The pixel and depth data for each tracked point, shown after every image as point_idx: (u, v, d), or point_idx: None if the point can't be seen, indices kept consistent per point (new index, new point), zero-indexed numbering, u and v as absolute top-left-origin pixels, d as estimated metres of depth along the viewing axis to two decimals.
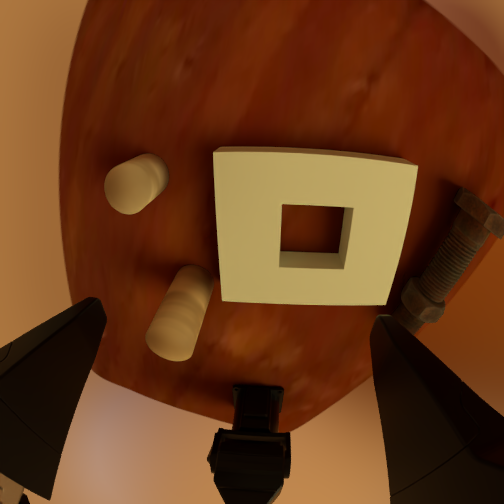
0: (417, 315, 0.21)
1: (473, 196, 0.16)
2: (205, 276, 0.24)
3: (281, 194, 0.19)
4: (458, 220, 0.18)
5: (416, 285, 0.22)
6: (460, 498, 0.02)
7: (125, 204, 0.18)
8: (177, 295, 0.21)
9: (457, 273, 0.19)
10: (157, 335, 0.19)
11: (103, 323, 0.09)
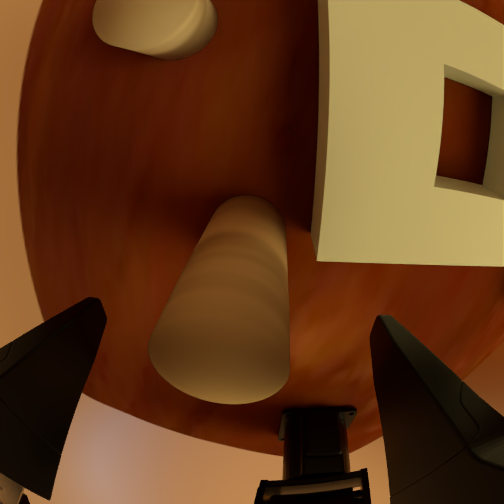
0: None
1: None
2: (276, 215, 0.12)
3: (442, 48, 0.06)
4: None
5: None
6: (460, 498, 0.02)
7: (131, 27, 0.06)
8: (231, 239, 0.09)
9: None
10: (185, 342, 0.06)
11: (103, 323, 0.09)
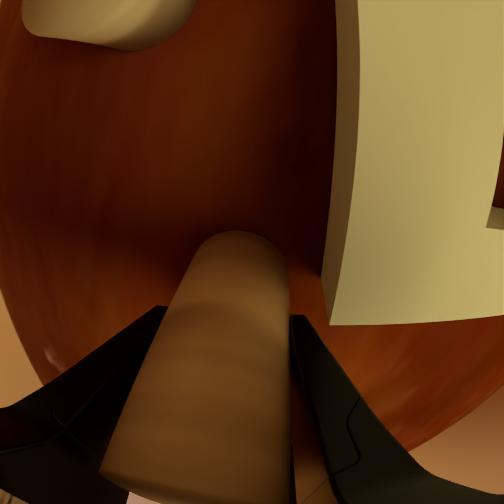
0: None
1: None
2: (276, 259, 0.09)
3: (501, 42, 0.03)
4: None
5: None
6: None
7: (62, 6, 0.03)
8: (208, 321, 0.06)
9: None
10: (144, 486, 0.03)
11: None
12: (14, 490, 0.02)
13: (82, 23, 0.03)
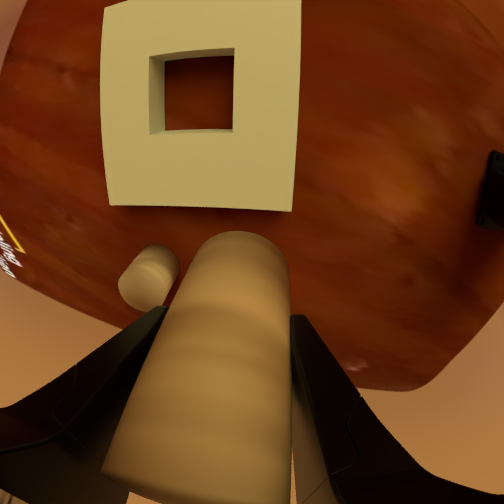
0: None
1: None
2: (277, 260, 0.09)
3: (139, 136, 0.15)
4: None
5: None
6: None
7: (153, 296, 0.19)
8: (209, 322, 0.06)
9: None
10: (145, 486, 0.03)
11: None
12: (14, 490, 0.02)
13: (162, 290, 0.19)
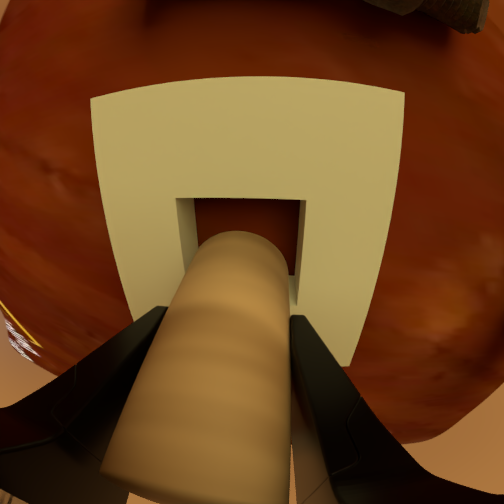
0: None
1: None
2: (276, 260, 0.09)
3: None
4: None
5: None
6: None
7: None
8: (208, 322, 0.06)
9: None
10: (143, 487, 0.03)
11: None
12: (14, 491, 0.02)
13: None
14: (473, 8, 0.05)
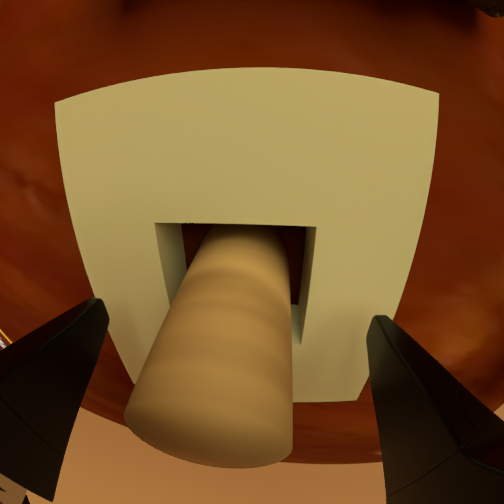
0: None
1: None
2: (277, 239, 0.10)
3: None
4: None
5: None
6: (455, 500, 0.02)
7: None
8: (222, 282, 0.07)
9: None
10: (165, 421, 0.04)
11: (106, 324, 0.09)
12: None
13: None
14: None
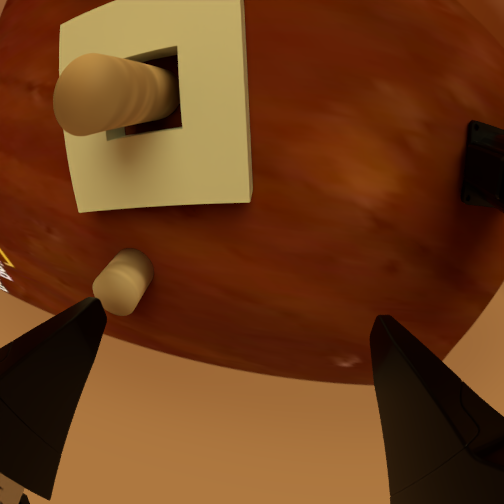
0: None
1: None
2: (169, 72, 0.14)
3: (98, 143, 0.15)
4: None
5: None
6: (460, 498, 0.02)
7: (126, 299, 0.19)
8: None
9: None
10: (70, 79, 0.08)
11: (103, 323, 0.09)
12: None
13: (133, 292, 0.18)
14: None
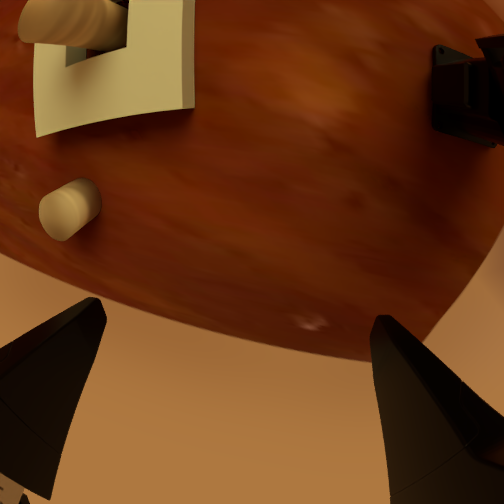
0: None
1: None
2: None
3: (58, 70, 0.13)
4: None
5: None
6: (460, 498, 0.02)
7: (65, 220, 0.16)
8: None
9: None
10: (33, 3, 0.06)
11: (103, 323, 0.09)
12: None
13: (71, 212, 0.16)
14: None
